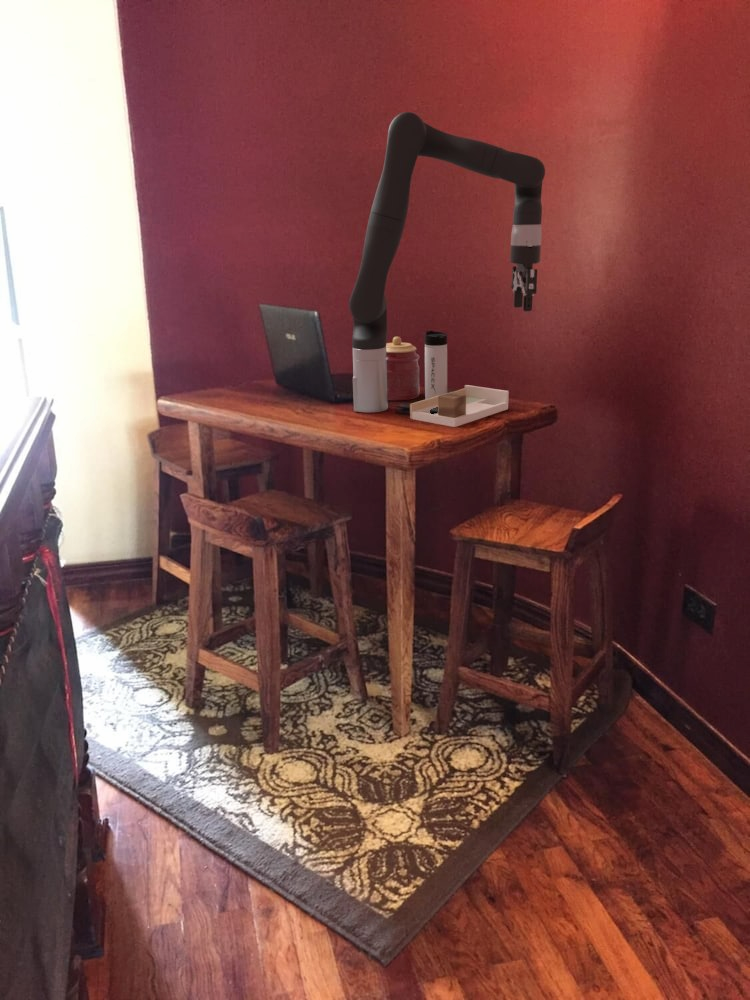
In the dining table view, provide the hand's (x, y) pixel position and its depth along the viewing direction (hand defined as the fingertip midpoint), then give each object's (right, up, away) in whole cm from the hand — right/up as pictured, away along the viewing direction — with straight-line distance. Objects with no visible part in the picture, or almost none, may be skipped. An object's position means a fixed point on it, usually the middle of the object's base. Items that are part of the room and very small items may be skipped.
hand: (522, 309), depth 202 cm
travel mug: (-21, -22, +20) cm, 36 cm away
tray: (-16, -27, +6) cm, 31 cm away
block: (-19, -28, -3) cm, 33 cm away
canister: (-32, -19, +29) cm, 47 cm away
